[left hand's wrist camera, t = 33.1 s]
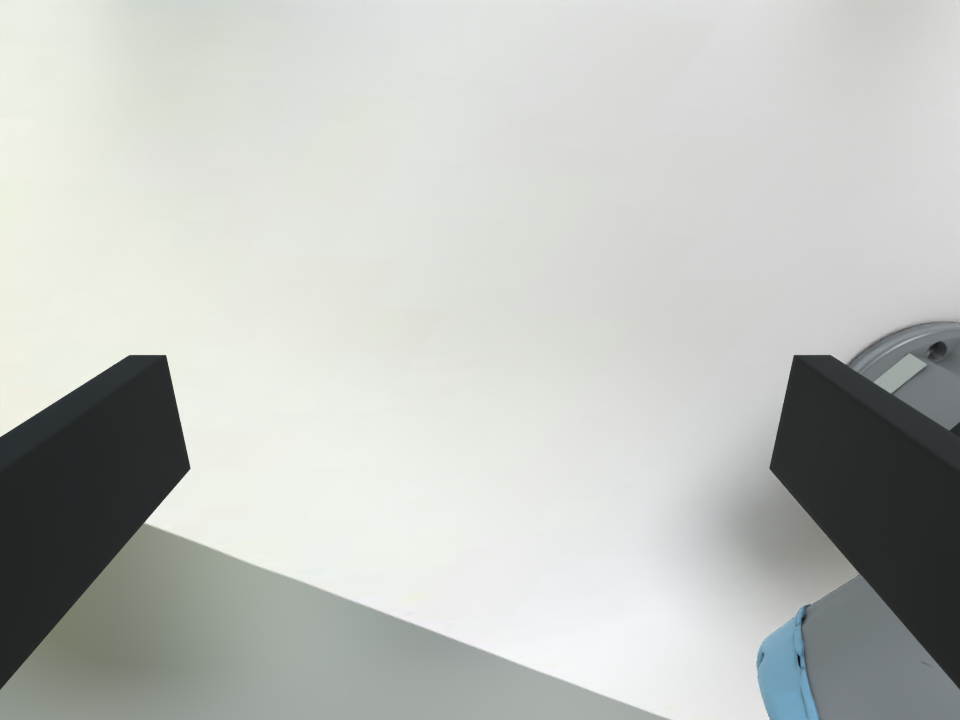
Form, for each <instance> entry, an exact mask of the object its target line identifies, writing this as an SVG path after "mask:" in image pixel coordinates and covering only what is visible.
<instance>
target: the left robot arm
mask: <svg viewBox="0 0 960 720" xmlns="http://www.w3.org/2000/svg"><path fill="white" fill-rule="evenodd" d="M189 470H190V464H189V459H188V455H187V450H186V445H185V441H184V436H183V432H182V427H181V422H180V418H179V413H178V408H177V404H176V399H175V394H174V390H173V385H172V380H171V376H170V371H169V367H168V362H167V357H166V355H129V356H127V357H126V358H124V359H123V360H121V361H120V362H118V363H116V364H115V365H113V366H112V367H110V368H109V369H107V370H105V371H104V372H102V373H101V374H99V375H97V376H96V377H94V378H93V379H91V380H90V381H88V382H86V383H85V384H83V385H82V386H80V387H79V388H77V389H75V390H74V391H72V392H71V393H69V394H68V395H66V396H64V397H63V398H61V399H60V400H58V401H57V402H55V403H53V404H52V405H50V406H49V407H47V408H46V409H44V410H42V411H41V412H39V413H38V414H36V415H35V416H33V417H31V418H30V419H28V420H27V421H25V422H24V423H22V424H20V425H19V426H17V427H16V428H14V429H13V430H11V431H9V432H8V433H6V434H5V435H3V436H1V437H0V689H1V688H2V687H3V686H4V685H5V683H6V682H7V681H8V680H9V679H10V678H11V677H12V675H13V674H14V673H15V672H16V671H17V670H18V668H19V667H20V666H21V665H22V664H23V663H24V661H25V660H26V659H27V658H28V657H29V656H30V655H31V653H32V652H33V651H34V650H35V649H36V648H37V646H38V645H39V644H40V643H41V642H42V641H43V639H44V638H45V637H46V636H47V635H48V634H49V632H50V631H51V630H52V629H53V628H54V627H55V625H56V624H57V623H58V622H59V621H60V620H61V618H62V617H63V616H64V615H65V614H66V613H67V612H68V610H69V609H70V608H71V607H72V606H73V604H74V603H75V602H76V601H77V600H78V599H79V598H80V596H81V595H82V594H83V593H84V592H85V591H86V589H87V588H88V587H89V586H90V585H91V584H92V582H93V581H94V580H95V579H96V578H97V577H98V575H99V574H100V573H101V572H102V571H103V570H104V569H105V567H106V566H107V565H108V564H109V563H110V562H111V560H112V559H113V558H114V557H115V556H116V555H117V553H118V552H119V551H120V550H121V549H122V548H123V546H124V545H125V544H126V543H127V542H128V541H129V539H130V538H131V537H132V536H133V535H134V534H135V533H136V531H137V530H138V529H139V528H140V527H141V526H142V524H143V523H144V522H145V521H146V520H147V519H148V517H149V516H150V515H151V514H152V513H153V512H154V510H155V509H156V508H157V507H158V506H159V505H160V504H161V502H162V501H163V500H164V499H165V498H166V497H167V495H168V494H169V493H170V492H171V491H172V490H173V488H174V487H175V486H176V485H177V484H178V483H179V481H180V480H181V479H182V478H183V477H184V476H185V474H186V473H187V472H188V471H189ZM770 470H771V471H772V472H773V473H774V474H775V476H776V477H777V478H778V479H779V480H780V481H781V483H782V484H783V485H784V486H785V487H786V488H787V490H788V491H789V492H790V493H791V494H792V495H793V497H794V498H795V499H796V500H797V501H798V502H799V504H800V505H801V506H802V507H803V508H804V509H805V510H806V512H807V513H808V514H809V515H810V516H811V517H812V519H813V520H814V521H815V522H816V523H817V524H818V526H819V527H820V528H821V529H822V530H823V531H824V533H825V534H826V535H827V536H828V537H829V538H830V540H831V541H832V542H833V543H834V544H835V545H836V546H837V548H838V549H839V550H840V551H841V552H842V553H843V555H844V556H845V557H846V558H847V559H848V560H849V562H850V563H851V564H852V565H853V566H854V567H855V569H856V570H857V571H858V572H859V573H860V575H858V576H857V577H855V578H854V579H852V580H851V581H849V582H848V583H846V584H844V585H843V586H841V587H840V588H838V589H836V590H835V591H833V592H831V593H830V594H828V595H827V596H825V597H823V598H822V599H820V600H818V601H817V602H815V603H814V604H812V605H811V604H809V605H806V606H804V607H802V608H801V609H800V610H799V611H798V613H797V615H796V616H795V617H794V618H792V619H791V620H790V621H788V622H787V623H786V624H785V625H783V626H782V627H780V628H779V629H778V630H776V631H775V632H773V633H772V634H771V635H769V636H768V637H767V638H766V639H765V640H764V641H763V643H762V644H761V646H760V648H759V651H758V655H757V671H758V682H759V687H760V691H761V695H762V698H763V701H764V704H765V707H766V710H767V713H768V715H769V718H770V720H960V323H954V322H939V323H929V324H923V325H919V326H915V327H911V328H908V329H905V330H902V331H899V332H897V333H895V334H892V335H890V336H888V337H886V338H884V339H882V340H881V341H879V342H877V343H876V344H874V345H872V346H871V347H870V348H868V349H867V350H865V351H864V352H863V353H862V354H860V355H859V356H858V357H857V358H856V359H854V360H853V361H852V362H851V363H850V364H849V365H848V366H847V365H845V364H844V363H842V362H840V361H839V360H837V359H836V358H834V357H833V356H831V355H794V357H793V362H792V367H791V371H790V376H789V380H788V385H787V390H786V394H785V399H784V404H783V408H782V413H781V418H780V422H779V427H778V432H777V436H776V441H775V445H774V450H773V455H772V459H771V464H770Z"/></svg>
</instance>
